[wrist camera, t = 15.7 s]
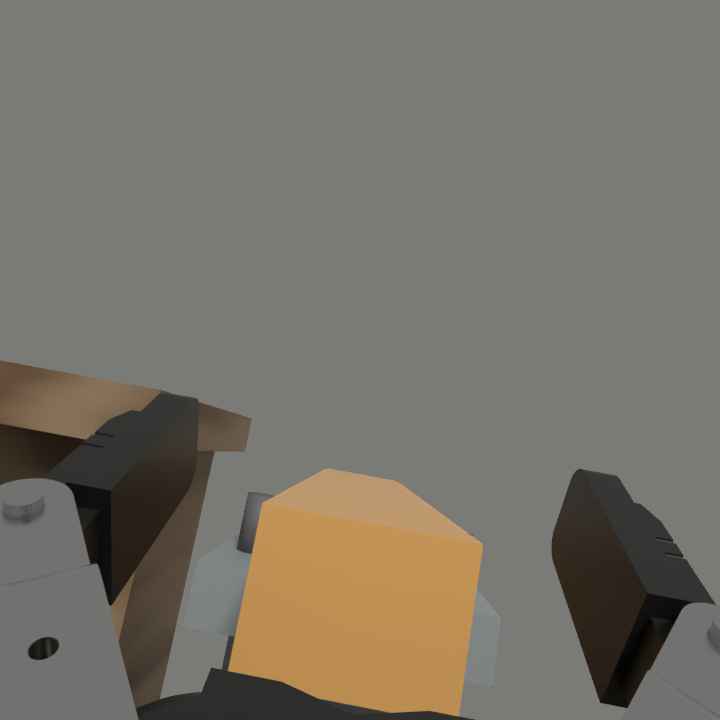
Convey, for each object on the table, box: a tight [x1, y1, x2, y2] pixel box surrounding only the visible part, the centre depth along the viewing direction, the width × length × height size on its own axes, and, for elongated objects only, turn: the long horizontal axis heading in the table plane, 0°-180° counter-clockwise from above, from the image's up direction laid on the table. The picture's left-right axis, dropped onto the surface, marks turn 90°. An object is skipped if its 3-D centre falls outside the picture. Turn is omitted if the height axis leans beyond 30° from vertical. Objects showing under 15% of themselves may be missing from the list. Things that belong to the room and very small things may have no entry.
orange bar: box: [228, 468, 483, 717], centre depth 21 cm, size 4×22×3 cm, turn 0°
